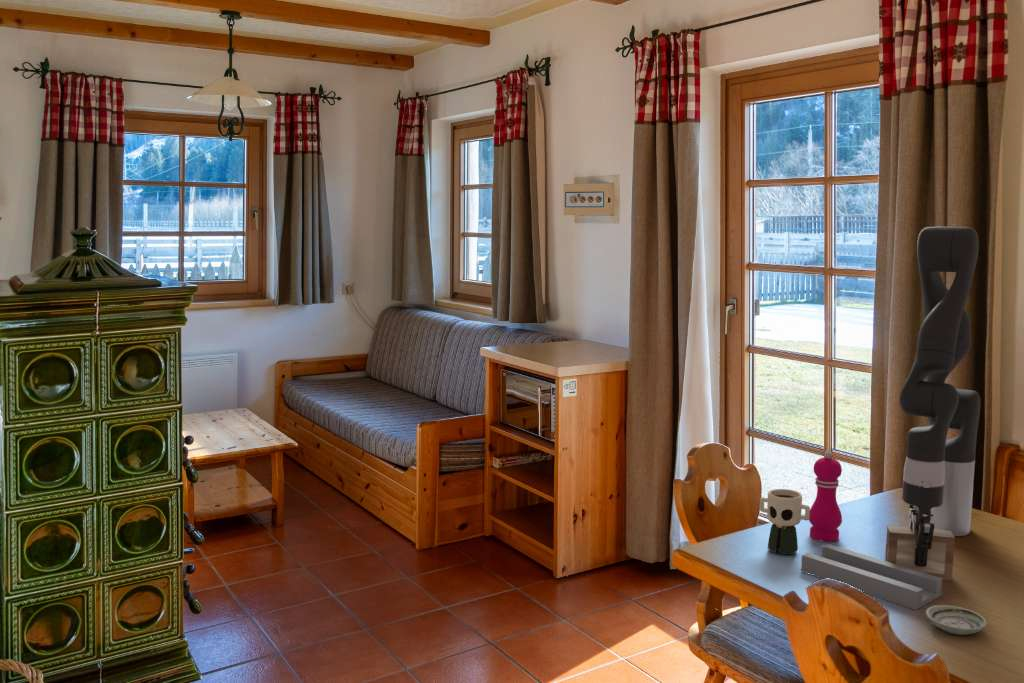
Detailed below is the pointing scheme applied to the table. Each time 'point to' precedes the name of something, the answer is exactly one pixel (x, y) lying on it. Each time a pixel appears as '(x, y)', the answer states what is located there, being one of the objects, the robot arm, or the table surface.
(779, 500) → the character mug
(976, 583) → the table surface
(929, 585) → the picture ledge
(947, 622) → the saucer
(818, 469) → the pepper mill
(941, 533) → the wooden framed block
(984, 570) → the table surface
